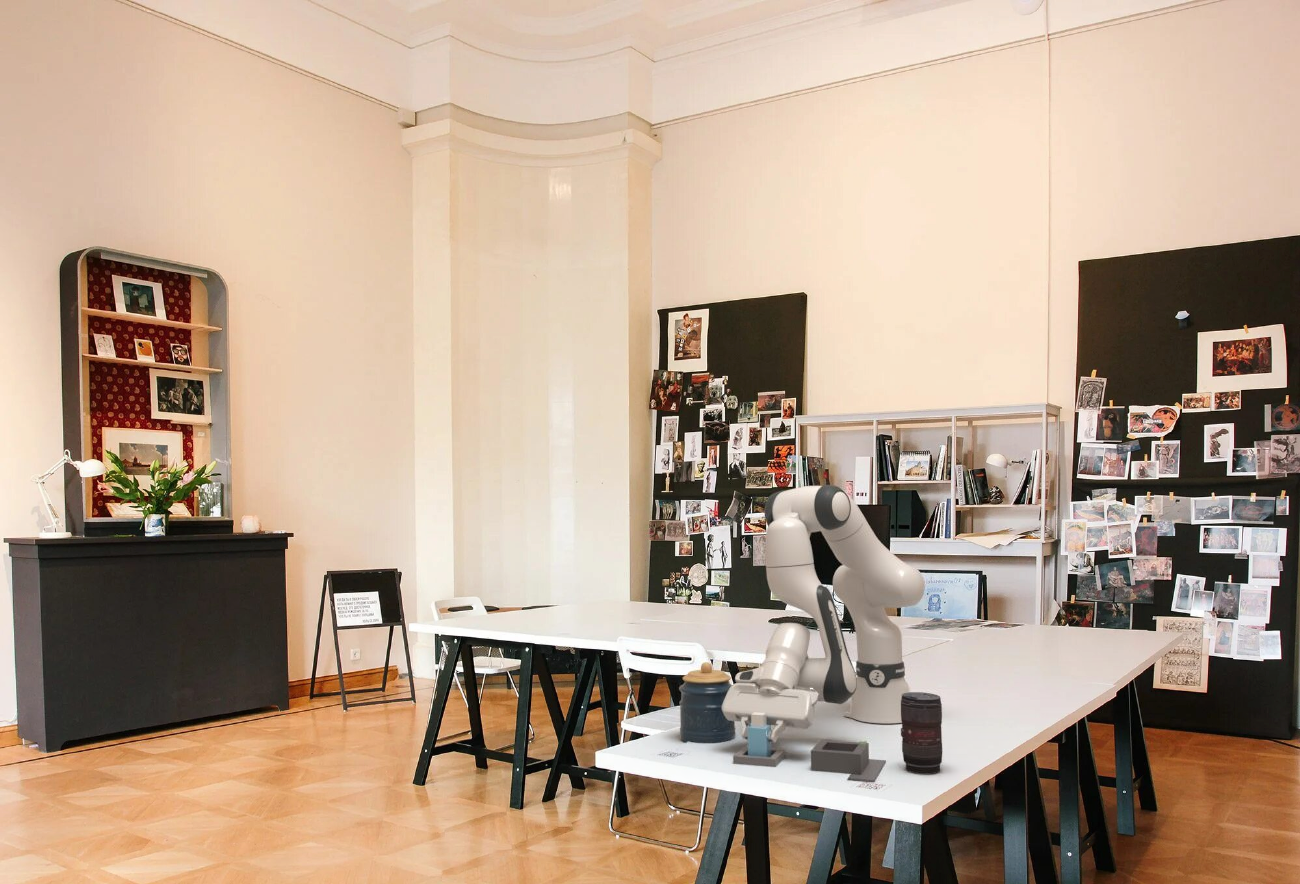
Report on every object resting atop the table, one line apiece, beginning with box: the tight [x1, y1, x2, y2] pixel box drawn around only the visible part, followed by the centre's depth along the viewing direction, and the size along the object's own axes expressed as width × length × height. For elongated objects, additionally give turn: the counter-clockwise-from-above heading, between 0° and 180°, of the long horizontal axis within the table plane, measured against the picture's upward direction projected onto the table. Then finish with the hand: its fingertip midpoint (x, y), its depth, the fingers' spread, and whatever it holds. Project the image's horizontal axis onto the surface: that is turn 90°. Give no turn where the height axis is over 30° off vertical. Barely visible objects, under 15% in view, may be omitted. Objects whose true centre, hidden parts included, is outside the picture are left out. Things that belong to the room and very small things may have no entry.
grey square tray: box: [732, 745, 787, 768], centre depth 210 cm, size 9×9×2 cm
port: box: [810, 739, 887, 783], centre depth 204 cm, size 16×16×5 cm
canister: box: [678, 662, 736, 744], centre depth 233 cm, size 13×13×18 cm
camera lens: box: [900, 691, 943, 775], centre depth 203 cm, size 8×8×15 cm
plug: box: [747, 712, 772, 757], centre depth 211 cm, size 4×4×10 cm
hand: (758, 739), depth 210 cm, fingers closed on plug, 4 cm apart
